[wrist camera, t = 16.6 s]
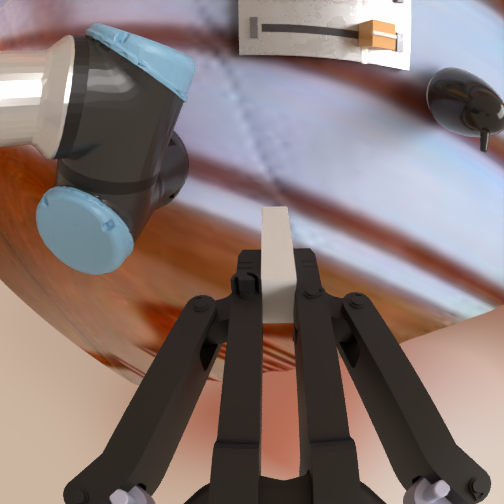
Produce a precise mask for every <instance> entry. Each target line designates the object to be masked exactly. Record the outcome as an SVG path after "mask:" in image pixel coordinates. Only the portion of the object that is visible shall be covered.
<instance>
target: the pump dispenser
mask: <svg viewBox="0 0 504 504" xmlns="http://www.w3.org/2000/svg"><path fill="white" fill-rule="evenodd" d="M426 99H427V104H428V107H429V109H430V111H431V113H432V115H433V117H434V119H435V120H436V121H437V122H438V123H439V124H440V125H441V126H442V127H444V128H445V129H447V130H449V131H451V132H454V133H457V134H461V135H465V136H470V137H480V151H481V152H483V153H486V152H487V150H488V144H489V138H490V136H493V135H496V134H498V133H500V132H501V131H503V130H504V102H503V100H502V99H501V97H500V96H499V95H498V93H497V92H496V91H495V90H494V89H493V88H492V87H491V86H490V85H489V84H487V83H486V82H485V81H484V80H482V79H481V78H479V77H478V76H476V75H474V74H472V73H470V72H468V71H465V70H463V69H459V68H453V67H449V68H445V69H442V70H440V71H439V72H438V73H436V74H435V75H434V76H433V77H432V78H431V79H430V81H429V83H428V86H427V90H426Z"/></svg>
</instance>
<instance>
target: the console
mask: <svg viewBox="0 0 504 504" xmlns="http://www.w3.org/2000/svg"><path fill="white" fill-rule="evenodd" d="M238 16H239V55H286V56H306V57H320V58H331V59H341V60H349V61H357V62H362V63H363V64H367V63H370V64H376V65H382V66H388V67H393V68H398V69H403V70H408V71H409V62H410V37H411V1H410V0H238ZM372 19H374V20H379V21H384V22H388V23H393V24H396V35H397V39H396V41H395V50H375V49H369V48H362V47H358V45H359V23H362V22H366V21H369V20H372Z"/></svg>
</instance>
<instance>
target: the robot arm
mask: <svg viewBox="0 0 504 504" xmlns="http://www.w3.org/2000/svg"><path fill="white" fill-rule="evenodd" d="M85 34H86V36H73V35H67V36H65V37H63V38H62V39H60V40H59V41H58V42H56V43H55V44H54V45H52V46H51V47H50V48H49V49H46V50H16V51H0V147H7V146H16V145H27V144H30V145H32V146H34V147H36V148H37V150H38V151H39V152H40V153H41V154H42V155H43V156H44V157H45V158H46V159H47V160H49V159H58V164H57V172H56V181H55V184H54V187H53V188H50V189H49V190H48V191H46V193H45V194H44V195H43V198H42V199H41V200H40V202H39V204H38V206H37V210H36V224H37V228H38V231H39V234H40V236H41V238H42V240H43V241H44V243H45V245H46V246H47V247H48V248H49V249H50V250H51V251H52V253H53V254H54V255H55V256H56V257H57V258H58V259H59V260H60V261H62V262H63V263H65V264H66V265H68V266H69V267H71V268H73V269H75V270H77V271H80V272H83V273H87V274H94V275H100V274H104V273H109V272H112V271H114V270H116V269H117V268H118V267H119V266H120V265H121V264H122V263H123V261H124V260H125V259H126V258H127V256H129V255H130V254H131V252H132V250H133V247H134V244H135V242H136V241H137V239H138V237H139V235H140V234H141V232H142V230H143V229H144V227H145V225H146V224H147V222H148V220H149V219H150V217H151V215H152V214H153V212H154V210H156V209H158V208H160V207H162V206H164V205H166V204H168V203H169V202H170V201H172V200H173V199H174V198H175V197H176V196H177V194H178V193H179V192H180V190H181V188H182V186H183V185H184V183H185V181H186V178H187V174H188V168H189V161H188V155H187V151H186V148H185V146H184V144H183V142H182V140H181V139H180V137H179V136H178V135H177V134H176V132H174V131H173V130H174V127H175V124H176V121H177V118H178V116H179V113H180V110H181V108H182V105H183V103H184V102H186V101H187V93H188V90H189V87H190V84H191V81H192V78H193V76H194V72H195V65H194V62H193V60H192V59H191V57H190V56H188V55H187V54H185V53H183V52H180V51H178V50H175V49H173V48H170V47H168V46H165V45H163V44H160V43H157V42H155V41H152V40H149V39H146V38H143V37H141V36H138V35H135V34H132V33H129V32H126V31H123V30H120V29H116V28H113V27H110V26H107V25H103V24H100V23H93V24H91V26H90V27H89V29H87V30H86V33H85ZM231 289H232V294H230V295H229V296H228V297H226V298H223V299H220V300H216V301H215V300H214V299H213V298H212V297H209V296H207V295H199V296H195V297H193V298H192V299H190V300H189V301H188V302H187V304H186V306H185V307H184V309H183V311H182V312H181V314H180V316H179V318H178V319H177V321H176V323H175V324H174V326H173V328H172V330H171V331H170V333H169V335H168V336H167V338H166V340H165V342H164V343H163V345H162V347H161V349H160V350H159V352H158V354H157V356H156V357H155V359H154V361H153V363H152V364H151V366H150V368H149V370H148V371H147V373H146V375H145V377H144V378H143V380H142V382H141V384H140V386H139V387H138V389H137V391H136V393H135V395H134V396H133V398H132V400H131V402H130V404H129V405H128V407H127V409H126V411H125V413H124V414H123V416H122V418H121V420H120V422H119V424H118V425H117V427H116V429H115V431H114V433H113V435H112V436H111V438H110V440H109V442H108V444H107V446H106V448H105V450H104V451H103V453H102V454H101V455H100V456H99V457H98V458H97V459H95V460H94V461H93V462H92V463H91V464H90V465H89V466H88V467H86V468H85V469H84V470H83V471H82V472H81V473H79V474H78V475H77V476H76V477H75V478H74V479H72V480H71V481H70V482H69V483H68V484H67V486H66V487H65V489H64V493H63V497H64V501H65V503H66V504H155V502H154V500H153V498H152V497H151V496H152V495H153V493H154V492H155V491H156V489H157V488H158V486H159V485H160V483H161V481H162V479H163V477H164V475H165V473H166V471H167V469H168V467H169V464H170V462H171V460H172V458H173V455H174V453H175V451H176V449H177V446H178V444H179V442H180V440H181V437H182V435H183V433H184V430H185V428H186V426H187V424H188V421H189V419H190V417H191V415H192V412H193V410H194V408H195V405H196V403H197V401H198V399H199V396H200V394H201V392H202V389H203V387H204V385H205V383H206V380H207V378H208V376H209V373H210V371H211V369H212V367H213V364H214V362H215V360H216V357H217V355H218V353H219V350H220V348H221V346H222V343H225V342H227V346H226V355H225V365H224V374H223V384H222V394H221V404H220V415H219V425H218V436H217V441H216V442H215V444H214V448H213V456H212V467H211V478H210V483H209V484H207V485H205V486H203V487H202V488H201V489H199V490H198V491H197V492H196V493H195V494H194V495H193V496H191V498H189V499H188V500H187V501H186V502H185V503H184V504H386V503H385V502H384V501H383V500H382V499H381V498H379V497H378V496H377V495H376V494H375V493H374V492H373V491H372V490H371V489H370V488H369V487H368V486H366V485H365V484H364V483H362V482H361V481H360V479H359V470H358V460H357V452H356V446H355V442H354V440H353V439H352V438H351V437H350V434H349V427H348V420H347V412H346V405H345V398H344V392H343V385H342V378H341V372H340V366H339V360H338V354H337V349H338V351H339V353H340V355H341V357H342V359H343V361H344V363H345V365H346V367H347V370H348V371H349V374H350V376H351V378H352V380H353V382H354V384H355V386H356V389H357V390H358V393H359V395H360V397H361V399H362V401H363V403H364V406H365V408H366V410H367V412H368V414H369V417H370V419H371V421H372V423H373V425H374V427H375V430H376V432H377V434H378V436H379V439H380V441H381V443H382V445H383V447H384V449H385V452H386V454H387V457H388V459H389V461H390V463H391V466H392V468H393V470H394V472H395V474H396V476H397V478H398V480H399V481H400V483H401V484H402V486H403V487H404V488H405V489H406V493H405V495H404V499H403V504H476V503H479V502H481V501H483V500H484V498H486V497H487V495H488V493H489V491H490V488H491V480H490V476H489V475H488V474H487V472H486V471H485V470H484V469H482V468H481V467H480V466H479V465H478V464H477V463H476V462H475V461H474V460H473V459H472V458H470V457H469V456H468V455H467V454H466V453H465V452H464V451H463V450H462V449H461V448H459V447H458V446H457V445H456V443H455V442H454V440H453V438H452V436H451V434H450V432H449V430H448V428H447V426H446V424H445V423H444V421H443V419H442V417H441V415H440V414H439V412H438V410H437V408H436V406H435V404H434V403H433V401H432V399H431V397H430V396H429V394H428V392H427V390H426V389H425V387H424V385H423V383H422V382H421V380H420V378H419V377H418V375H417V373H416V372H415V370H414V368H413V367H412V365H411V363H410V362H409V360H408V358H407V357H406V355H405V353H404V352H403V350H402V349H401V347H400V345H399V344H398V342H397V340H396V339H395V337H394V336H393V334H392V333H391V331H390V329H389V328H388V326H387V325H386V323H385V322H384V320H383V318H382V317H381V315H380V314H379V312H378V311H377V309H376V308H375V306H374V305H373V303H372V302H371V300H370V299H369V298H368V297H367V296H366V295H364V294H362V293H357V292H354V293H349V294H347V295H346V296H345V297H344V298H339V297H334V296H331V295H329V294H328V293H326V292H325V290H324V288H322V285H321V280H320V276H319V271H318V267H317V262H316V257H315V254H314V253H313V251H312V250H311V249H310V248H301V249H293V245H292V238H291V230H290V223H289V215H288V208H287V207H262V244H261V250H242V252H241V253H240V254H239V256H238V264H237V272H236V273H235V274H234V275H233V276H232V278H231ZM293 321H294V332H293V341H294V345H295V361H296V376H297V394H298V414H299V437H300V471H299V472H300V473H299V477H297V478H293V479H289V480H278V479H273V478H268V477H264V476H261V431H262V428H261V427H262V362H263V323H293ZM336 347H337V348H336Z"/></svg>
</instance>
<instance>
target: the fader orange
mask: <svg viewBox="0 0 504 504" xmlns="http://www.w3.org/2000/svg"><path fill="white" fill-rule="evenodd" d="M396 39H397V35H396V24H393V23H388V22H384V21H379V20H374V19H372V20H369V21H366V22H362V23H359V45H358V47H362V48H369V49H375V50H395V41H396Z"/></svg>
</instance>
